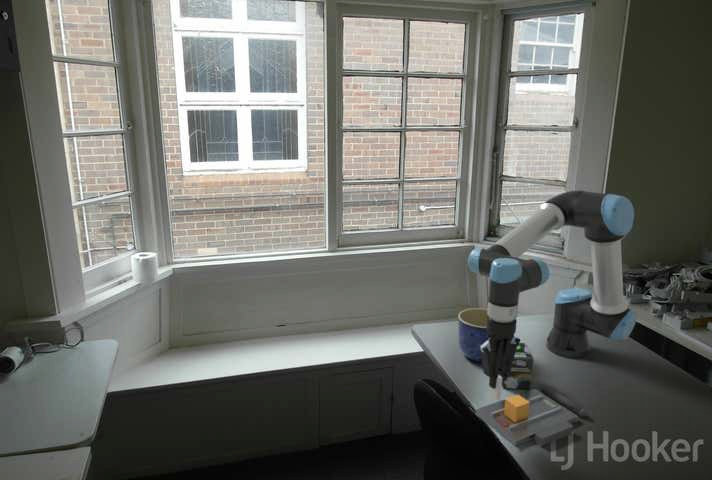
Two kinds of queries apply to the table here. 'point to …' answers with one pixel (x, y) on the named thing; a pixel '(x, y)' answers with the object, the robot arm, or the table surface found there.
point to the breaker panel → (539, 419)
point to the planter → (472, 331)
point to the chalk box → (520, 369)
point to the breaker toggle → (516, 408)
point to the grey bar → (553, 433)
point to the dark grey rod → (564, 401)
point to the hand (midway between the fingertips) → (495, 396)
